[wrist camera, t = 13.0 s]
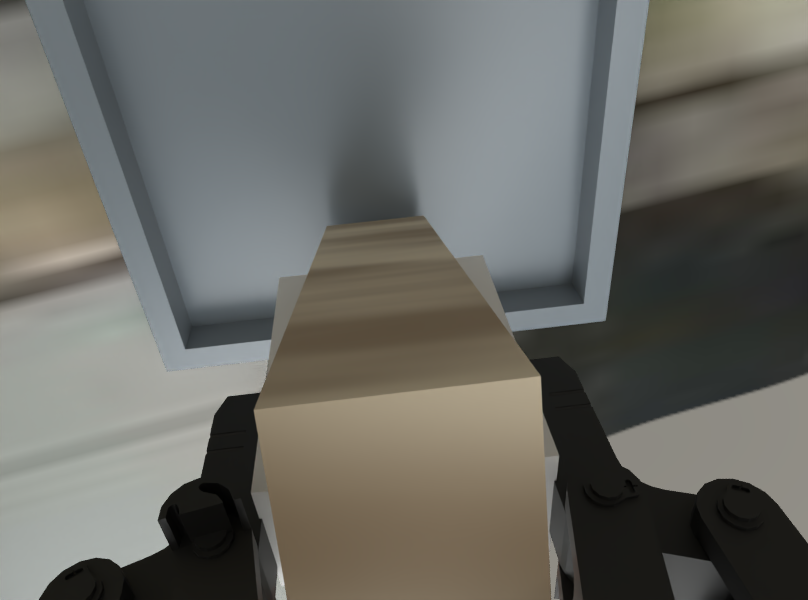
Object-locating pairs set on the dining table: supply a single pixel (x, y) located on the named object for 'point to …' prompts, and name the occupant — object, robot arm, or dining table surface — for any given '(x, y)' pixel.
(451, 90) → the slate tray
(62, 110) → the dining table surface
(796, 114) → the dining table surface
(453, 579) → the light wooden bar
